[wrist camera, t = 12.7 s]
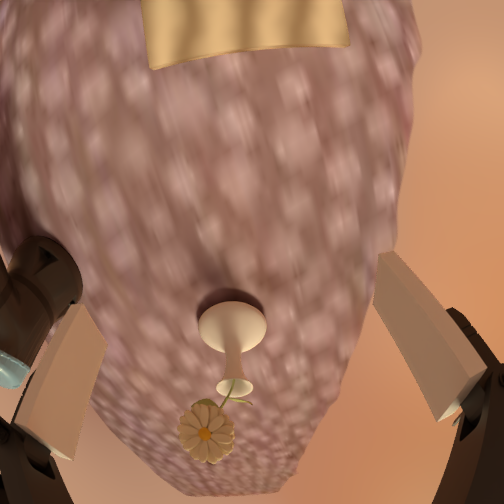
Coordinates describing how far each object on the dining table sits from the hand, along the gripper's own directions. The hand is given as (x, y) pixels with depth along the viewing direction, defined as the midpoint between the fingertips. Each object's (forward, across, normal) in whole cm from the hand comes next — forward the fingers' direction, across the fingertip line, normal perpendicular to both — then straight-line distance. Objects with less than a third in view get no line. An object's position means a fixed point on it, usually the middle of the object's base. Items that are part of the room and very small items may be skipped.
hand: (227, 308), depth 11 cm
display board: (+26, +5, +25) cm, 37 cm away
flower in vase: (+27, -5, -25) cm, 37 cm away
